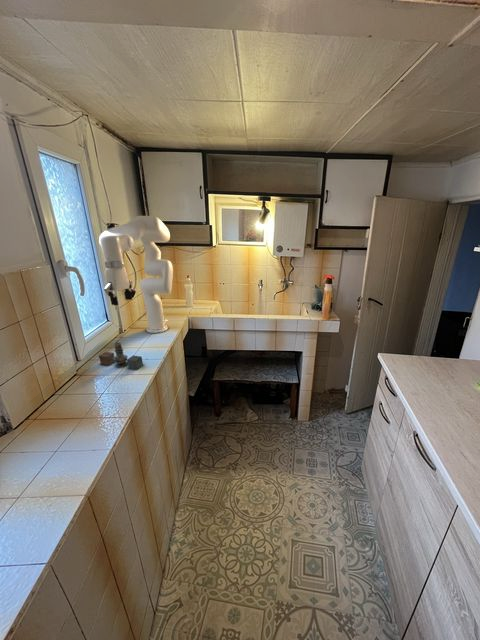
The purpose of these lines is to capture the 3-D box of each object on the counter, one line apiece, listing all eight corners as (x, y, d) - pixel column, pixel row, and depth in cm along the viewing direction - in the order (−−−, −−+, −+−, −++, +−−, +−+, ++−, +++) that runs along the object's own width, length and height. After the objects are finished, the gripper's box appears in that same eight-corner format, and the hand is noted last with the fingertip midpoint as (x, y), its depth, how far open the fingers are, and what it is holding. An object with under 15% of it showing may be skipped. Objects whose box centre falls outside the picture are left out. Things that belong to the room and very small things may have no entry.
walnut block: (107, 360, 136) (105, 351, 134) (115, 361, 135) (113, 352, 133) (100, 364, 132) (98, 355, 130) (109, 365, 131) (106, 356, 129)
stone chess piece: (123, 368, 129) (118, 344, 124) (112, 366, 130) (106, 343, 125) (131, 362, 134) (126, 339, 129) (120, 361, 135) (115, 338, 130)
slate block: (134, 363, 133) (133, 355, 131) (143, 365, 132) (141, 356, 130) (128, 368, 129) (126, 359, 127) (137, 369, 128) (135, 360, 126)
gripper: (120, 261, 134) (127, 297, 141) (92, 267, 119) (102, 306, 126) (134, 262, 132) (140, 298, 140) (107, 268, 117) (116, 307, 124)
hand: (122, 302), depth 133 cm, fingers open, 9 cm apart
